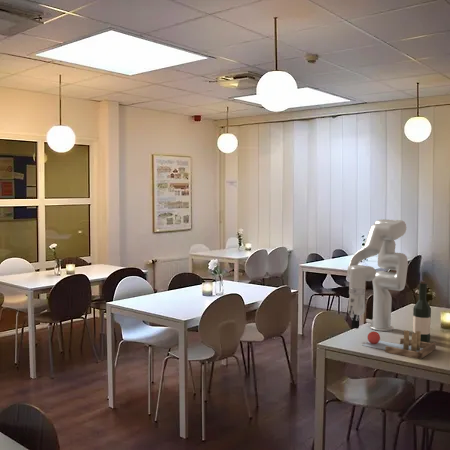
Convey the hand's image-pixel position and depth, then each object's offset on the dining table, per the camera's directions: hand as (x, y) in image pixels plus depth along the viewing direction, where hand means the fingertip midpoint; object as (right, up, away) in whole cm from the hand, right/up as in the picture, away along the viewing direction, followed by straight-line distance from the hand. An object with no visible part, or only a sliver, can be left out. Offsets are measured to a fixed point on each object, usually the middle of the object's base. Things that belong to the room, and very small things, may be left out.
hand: (355, 328), depth 271 cm
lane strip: (+17, -7, -11) cm, 21 cm away
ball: (+8, -4, -5) cm, 10 cm away
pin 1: (+23, -8, -19) cm, 31 cm away
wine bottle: (+34, -7, +3) cm, 35 cm away
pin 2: (+26, -8, -15) cm, 31 cm away
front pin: (+21, -8, -15) cm, 26 cm away
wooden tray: (+22, -8, -16) cm, 28 cm away
